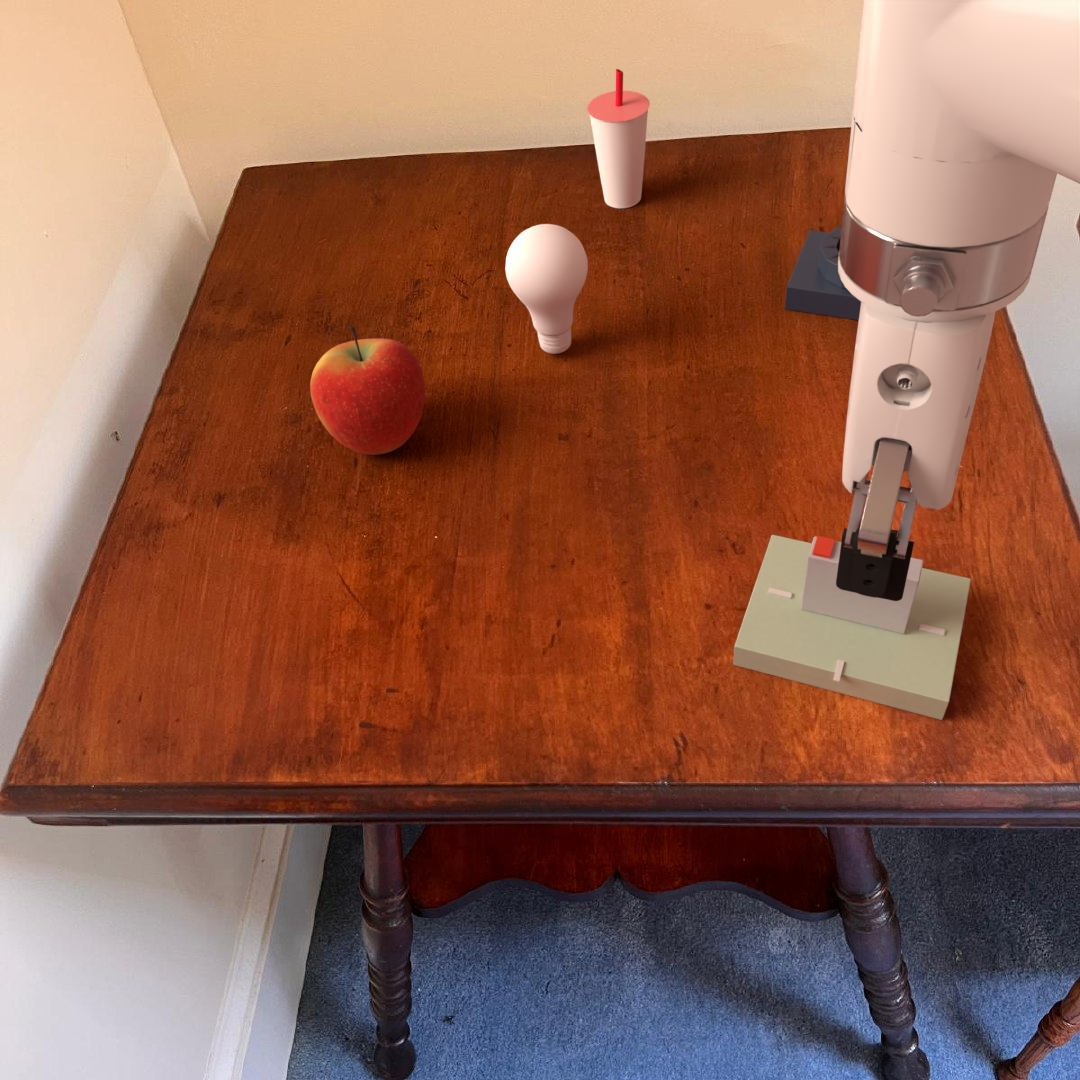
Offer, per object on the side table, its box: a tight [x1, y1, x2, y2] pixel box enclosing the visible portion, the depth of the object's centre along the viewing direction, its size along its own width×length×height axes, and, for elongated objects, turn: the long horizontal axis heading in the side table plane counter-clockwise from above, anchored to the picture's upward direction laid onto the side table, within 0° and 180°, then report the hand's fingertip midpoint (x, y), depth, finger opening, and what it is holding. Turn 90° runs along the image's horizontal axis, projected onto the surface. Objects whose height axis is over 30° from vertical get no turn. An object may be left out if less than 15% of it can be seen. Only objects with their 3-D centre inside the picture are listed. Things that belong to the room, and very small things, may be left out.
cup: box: [586, 68, 651, 209], centre depth 91 cm, size 5×5×12 cm
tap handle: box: [801, 535, 924, 634], centre depth 59 cm, size 6×2×5 cm, turn 68°
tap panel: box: [732, 534, 972, 721], centre depth 62 cm, size 12×10×2 cm
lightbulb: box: [504, 223, 589, 355], centre depth 78 cm, size 6×6×11 cm
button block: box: [784, 225, 861, 321], centre depth 82 cm, size 10×8×4 cm
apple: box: [309, 325, 426, 456], centre depth 74 cm, size 8×8×10 cm
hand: (886, 521), depth 54 cm, fingers open, 9 cm apart
